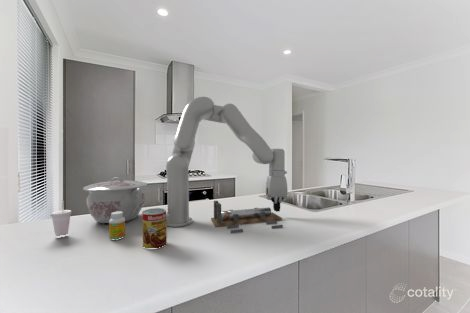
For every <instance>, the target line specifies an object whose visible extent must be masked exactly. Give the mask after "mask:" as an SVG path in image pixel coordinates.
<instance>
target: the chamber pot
mask: <svg viewBox="0 0 470 313" xmlns="http://www.w3.org/2000/svg"><path fill="white" fill-rule="evenodd" d="M147 185H148V183H147V182H143V181H141V180H140V181H139V180H129V179H127V180H123V179H122V178H121V177H119V176H118V177H117V176H114V177H113V178H111V180H109V181H102V182H96V183H92V184H89V185H86V186H84V187H82V190H83V191H87V192H88V195H87V197H86V206H87V210H88V212H89V214H90V216H91V217H92V218H93V219H94V220H95V221H96V222H97V223H99V224H104V223H109V220H110V219H111V218H112V217H111V213H113V212H117V211H121V212H123V216H122V217H124V218H125V221H127V222H129V221H132V220H133V219H135V218H137V217H138V216H139V214H140V212H141V211H142V210H143V207H144V204H145V201H146V193H145V191H144V190H143V188H145V187H146V186H147Z"/></svg>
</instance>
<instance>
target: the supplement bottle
mask: <svg viewBox="0 0 470 313" xmlns="http://www.w3.org/2000/svg"><path fill="white" fill-rule="evenodd" d="M122 216H123V212H121V211H117V212H113V213H111V217H112V218H111V219H110V220H109V224H108V229H109V231H108V234H109V235H108V237H109V238H110V239H119V238H122V237H124V236H125V237H126V222H125V218H124V217H122ZM109 238H108V239H109ZM110 239H109V240H110Z"/></svg>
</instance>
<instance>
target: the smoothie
mask: <svg viewBox="0 0 470 313" xmlns="http://www.w3.org/2000/svg"><path fill="white" fill-rule="evenodd" d="M64 202H65V201H64V200H61V209H59V210H55V211H53V212H51V213H50V217H51V220H52V224H53V230H54V236H55V235H56V236H60V235H66V234H68V235H69V230H70V220H71V214H72V210H71V209H64V208H65V207H64V204H65V203H64ZM56 236H55V237H56Z"/></svg>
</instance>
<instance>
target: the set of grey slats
mask: <svg viewBox="0 0 470 313" xmlns="http://www.w3.org/2000/svg"><path fill="white" fill-rule="evenodd" d="M274 224H275V225H274ZM265 225H267V226H268V225H271V229H281V228H283V227H284V225H283V224H278V221H271V222H265ZM238 228H239V229H238ZM226 229H227V230H228V229H230V234H236V233H243V232H244V229H243V228H241V229H240V225H232V226H226Z"/></svg>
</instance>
